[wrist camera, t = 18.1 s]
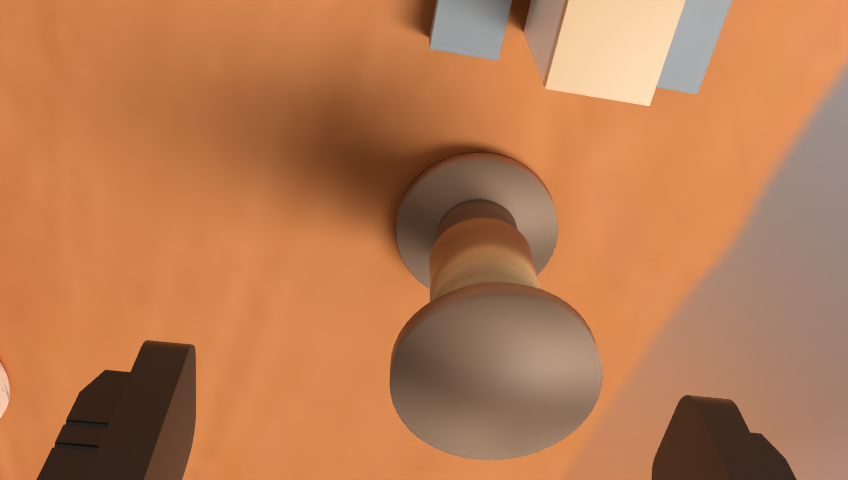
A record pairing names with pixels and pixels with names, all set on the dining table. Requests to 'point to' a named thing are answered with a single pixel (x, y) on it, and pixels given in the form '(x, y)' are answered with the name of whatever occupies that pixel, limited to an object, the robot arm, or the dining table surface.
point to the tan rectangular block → (602, 45)
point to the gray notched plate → (488, 13)
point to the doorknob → (488, 316)
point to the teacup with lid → (4, 390)
